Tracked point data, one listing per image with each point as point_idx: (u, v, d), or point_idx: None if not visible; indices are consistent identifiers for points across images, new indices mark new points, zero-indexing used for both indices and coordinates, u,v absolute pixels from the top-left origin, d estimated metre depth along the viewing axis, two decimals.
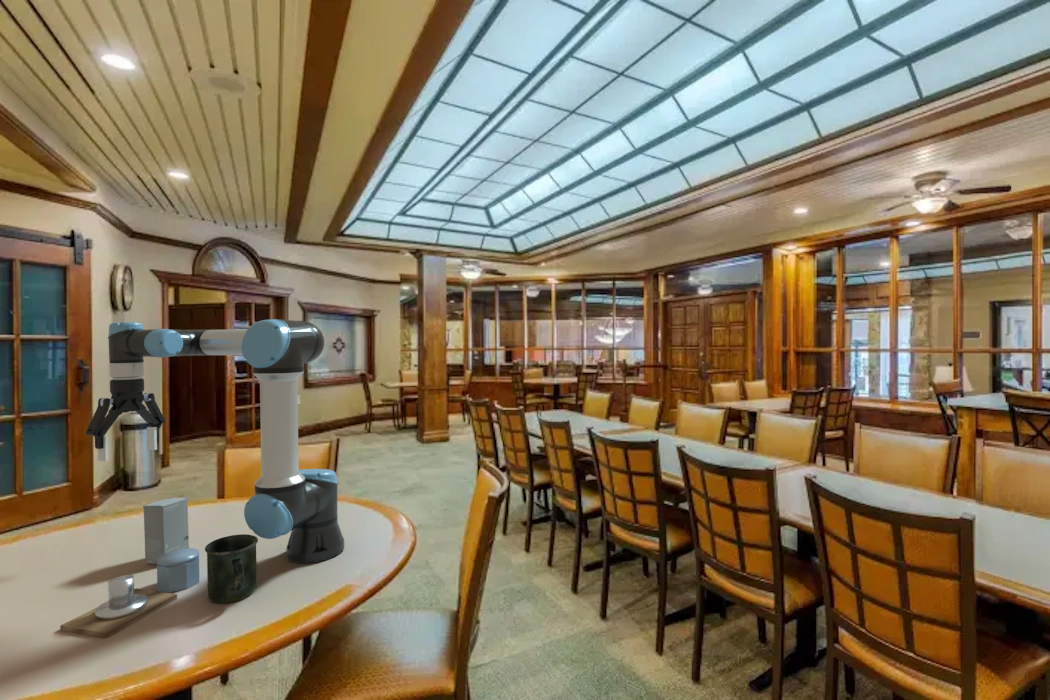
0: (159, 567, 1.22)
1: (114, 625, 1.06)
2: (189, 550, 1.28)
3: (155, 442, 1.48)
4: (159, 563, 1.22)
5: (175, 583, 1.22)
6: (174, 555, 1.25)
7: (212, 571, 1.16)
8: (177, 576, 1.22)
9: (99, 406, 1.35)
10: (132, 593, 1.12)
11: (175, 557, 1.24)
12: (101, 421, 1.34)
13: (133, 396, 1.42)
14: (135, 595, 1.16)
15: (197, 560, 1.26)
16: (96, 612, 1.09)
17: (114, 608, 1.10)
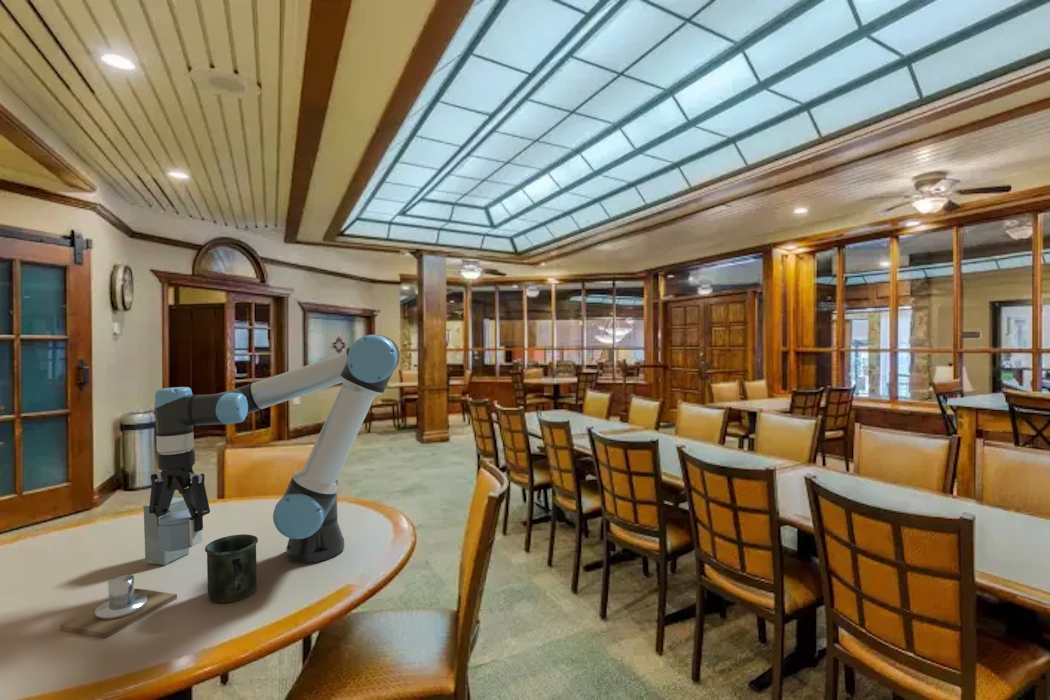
0: (160, 527, 1.22)
1: (114, 625, 1.06)
2: None
3: (190, 537, 1.23)
4: (160, 523, 1.22)
5: (177, 542, 1.22)
6: (175, 516, 1.25)
7: (212, 571, 1.16)
8: (178, 535, 1.22)
9: None
10: (132, 593, 1.12)
11: (176, 517, 1.24)
12: (152, 499, 1.26)
13: (176, 470, 1.24)
14: (135, 595, 1.16)
15: None
16: (96, 612, 1.09)
17: (114, 608, 1.10)
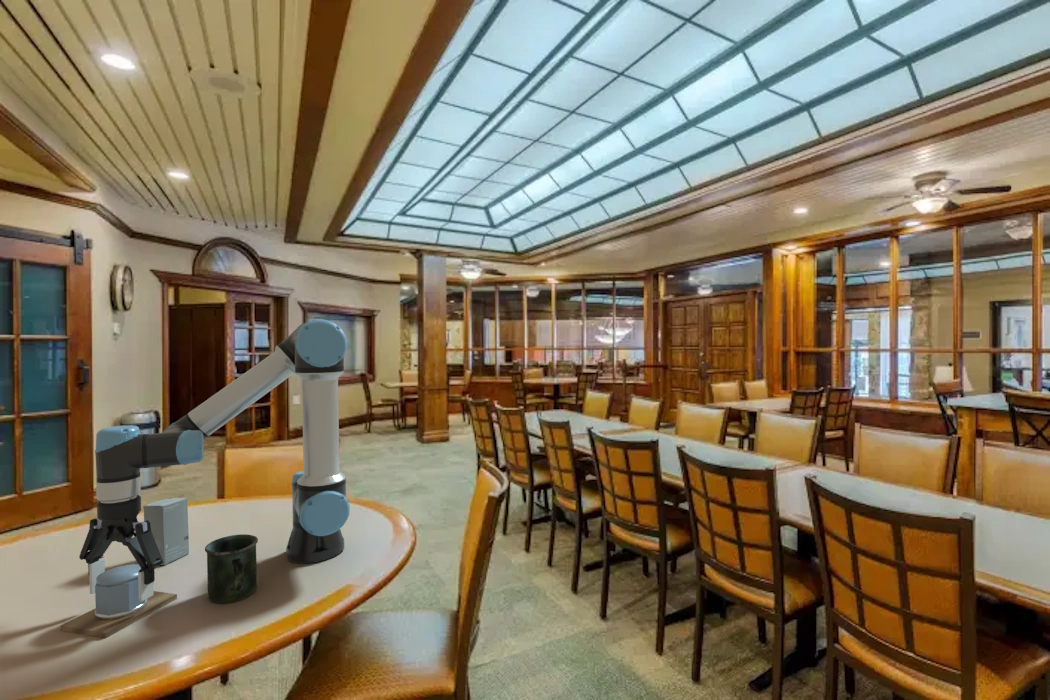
0: (97, 587, 1.08)
1: (114, 625, 1.06)
2: (135, 566, 1.15)
3: (139, 591, 1.09)
4: (98, 582, 1.08)
5: (116, 605, 1.08)
6: (116, 572, 1.12)
7: (212, 571, 1.16)
8: (118, 597, 1.08)
9: None
10: None
11: (117, 574, 1.11)
12: (86, 545, 1.12)
13: (117, 523, 1.10)
14: None
15: None
16: None
17: None
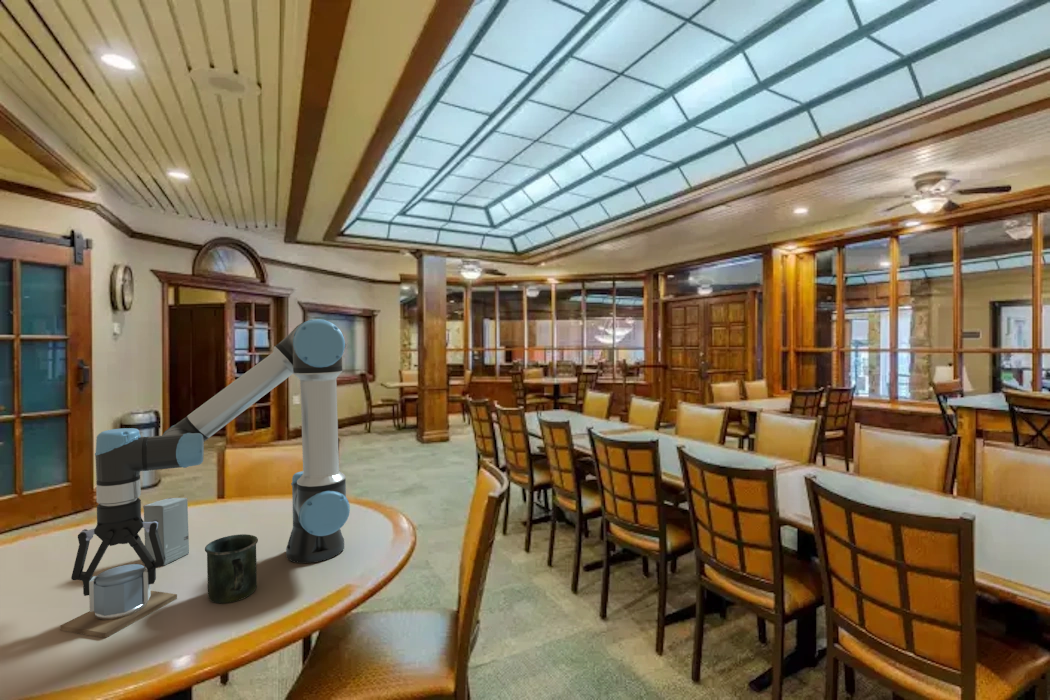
0: (107, 588, 1.08)
1: (114, 625, 1.06)
2: (125, 566, 1.15)
3: (145, 592, 1.13)
4: (107, 583, 1.08)
5: (130, 600, 1.10)
6: (115, 573, 1.11)
7: (212, 571, 1.16)
8: (132, 592, 1.10)
9: None
10: None
11: (120, 574, 1.11)
12: (79, 562, 1.08)
13: (124, 522, 1.11)
14: None
15: None
16: None
17: None
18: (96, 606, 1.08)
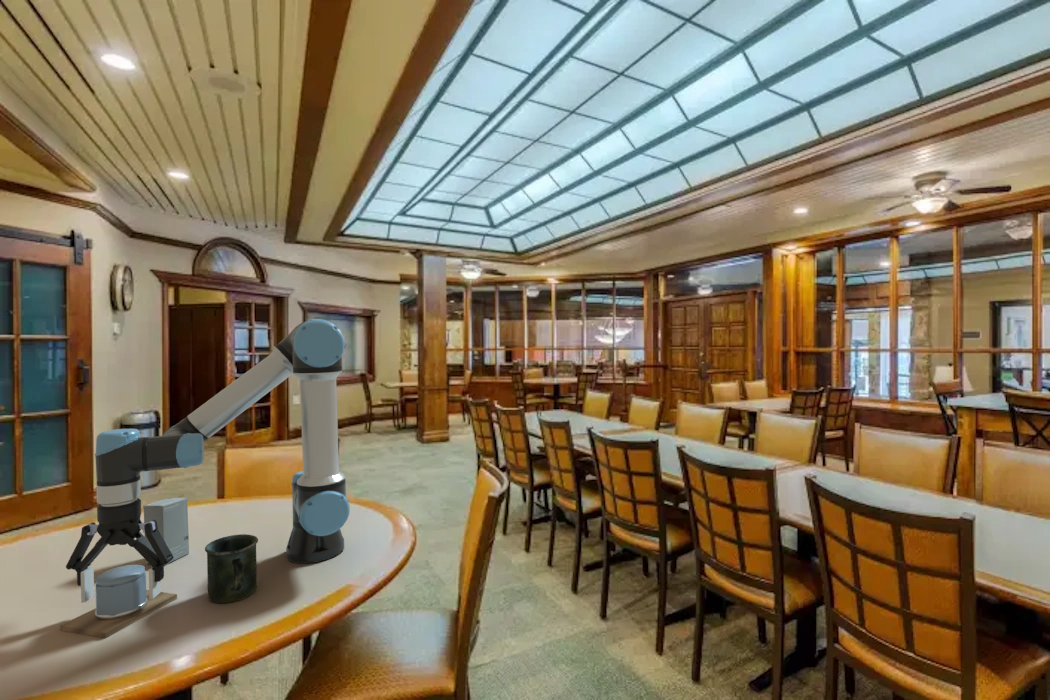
0: (116, 587, 1.08)
1: (114, 625, 1.06)
2: (120, 568, 1.14)
3: (150, 589, 1.11)
4: (115, 583, 1.08)
5: (138, 597, 1.11)
6: (115, 574, 1.11)
7: (212, 571, 1.16)
8: (139, 589, 1.12)
9: None
10: None
11: (122, 574, 1.11)
12: (76, 553, 1.10)
13: (120, 526, 1.11)
14: None
15: None
16: (96, 612, 1.09)
17: None
18: (100, 608, 1.08)
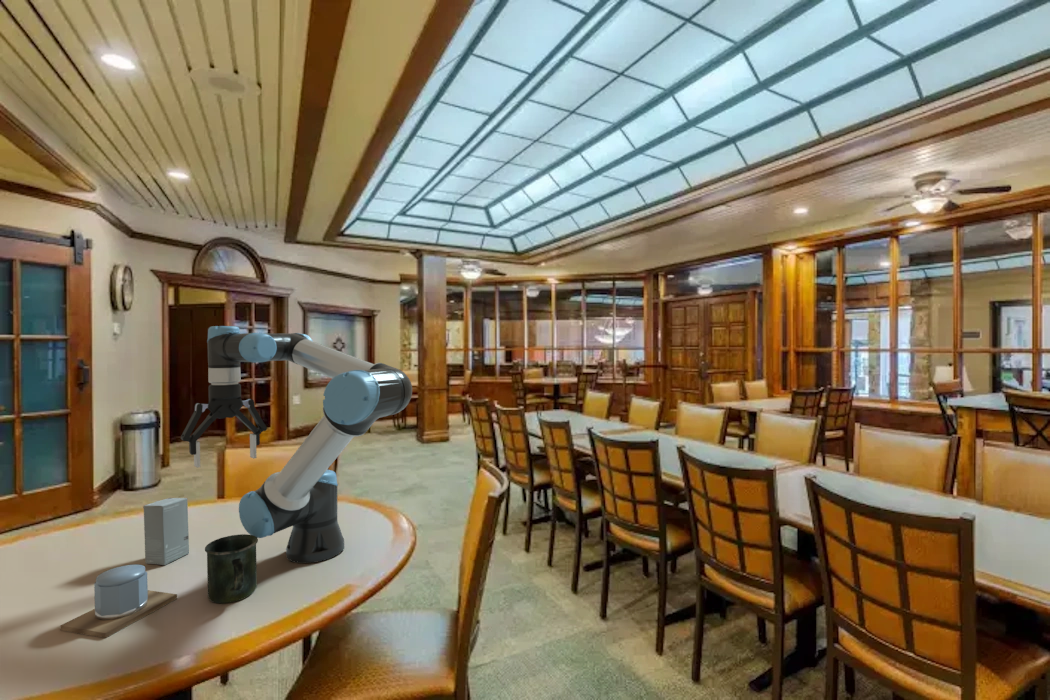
0: (140, 579, 1.12)
1: (114, 625, 1.06)
2: (105, 574, 1.11)
3: (254, 450, 1.42)
4: (138, 575, 1.11)
5: None
6: (120, 574, 1.11)
7: (212, 571, 1.16)
8: None
9: (194, 411, 1.33)
10: None
11: (126, 572, 1.12)
12: (192, 427, 1.32)
13: (229, 402, 1.38)
14: None
15: None
16: (96, 612, 1.09)
17: None
18: (124, 605, 1.09)
